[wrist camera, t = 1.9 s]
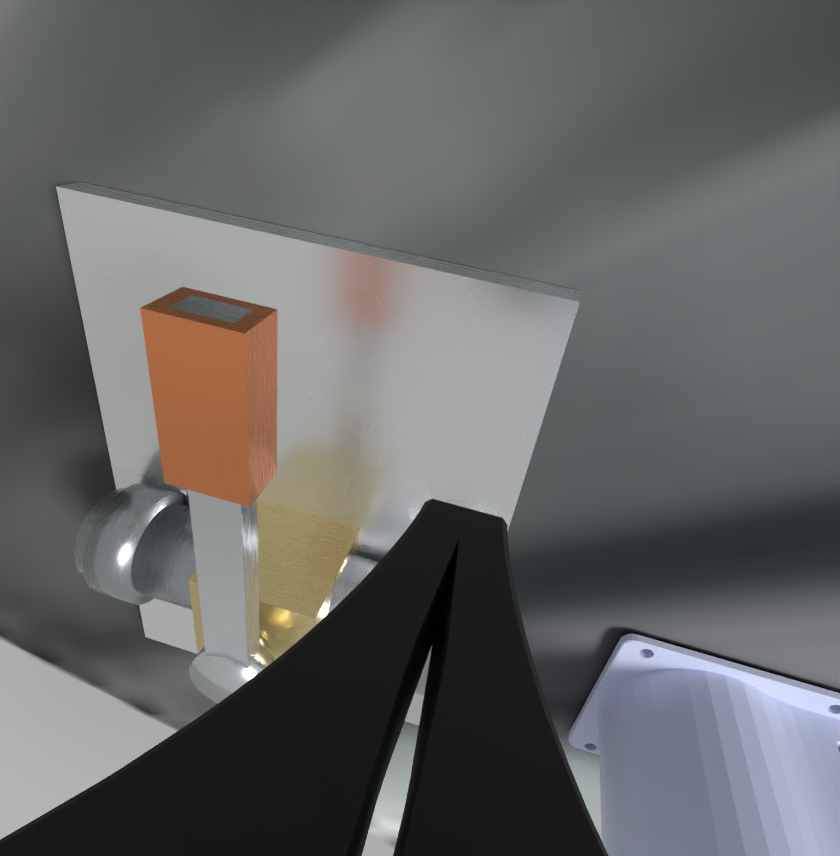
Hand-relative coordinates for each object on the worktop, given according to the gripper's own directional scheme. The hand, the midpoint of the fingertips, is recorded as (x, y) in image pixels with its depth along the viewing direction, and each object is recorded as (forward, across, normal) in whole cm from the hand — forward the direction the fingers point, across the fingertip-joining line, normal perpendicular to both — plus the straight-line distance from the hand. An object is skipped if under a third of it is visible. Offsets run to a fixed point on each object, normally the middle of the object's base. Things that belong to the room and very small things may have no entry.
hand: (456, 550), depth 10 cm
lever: (+3, +6, +5) cm, 8 cm away
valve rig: (+9, +7, +9) cm, 14 cm away
